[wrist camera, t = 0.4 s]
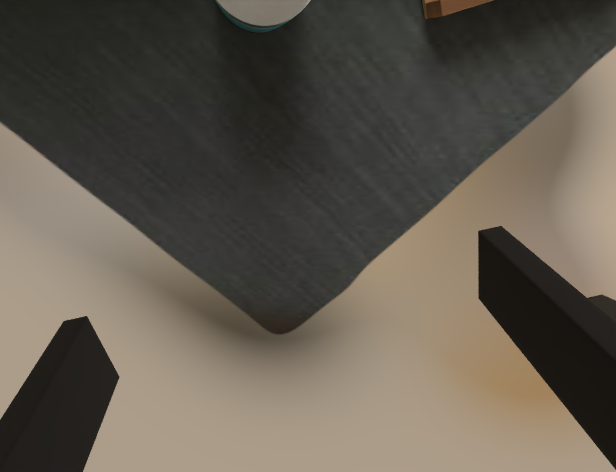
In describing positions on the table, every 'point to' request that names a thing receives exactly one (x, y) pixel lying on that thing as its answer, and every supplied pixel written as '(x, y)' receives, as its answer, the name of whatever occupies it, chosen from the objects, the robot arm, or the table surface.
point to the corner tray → (447, 6)
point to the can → (261, 13)
